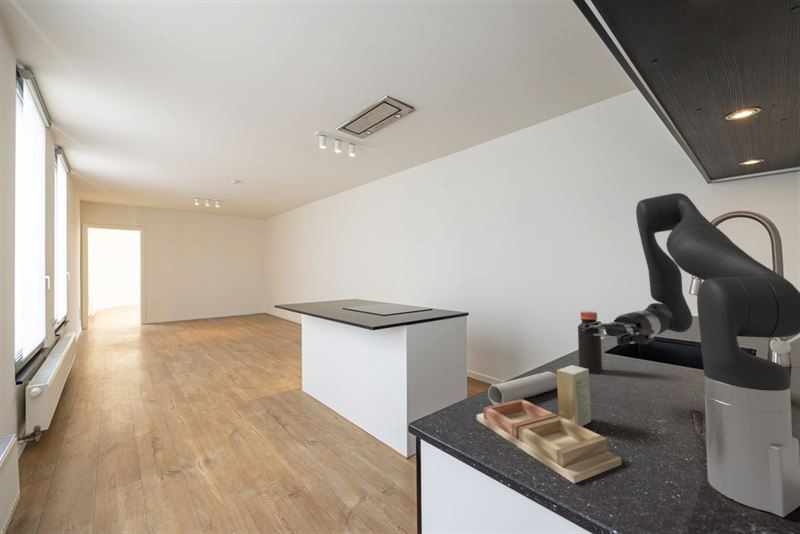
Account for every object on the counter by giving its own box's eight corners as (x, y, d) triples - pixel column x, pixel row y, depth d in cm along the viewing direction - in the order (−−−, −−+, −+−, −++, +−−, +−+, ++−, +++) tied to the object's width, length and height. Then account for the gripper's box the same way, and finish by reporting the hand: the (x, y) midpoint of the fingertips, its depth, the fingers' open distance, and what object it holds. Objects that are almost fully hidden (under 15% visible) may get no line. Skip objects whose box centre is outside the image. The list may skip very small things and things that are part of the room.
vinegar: (583, 366, 117) (581, 310, 118) (605, 370, 112) (603, 312, 113) (576, 371, 113) (574, 312, 113) (598, 375, 108) (595, 314, 108)
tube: (545, 381, 101) (485, 397, 88) (550, 366, 100) (490, 380, 87) (560, 392, 97) (500, 411, 84) (566, 376, 95) (505, 393, 82)
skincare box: (573, 415, 79) (571, 364, 79) (591, 422, 75) (590, 368, 75) (557, 422, 76) (555, 368, 76) (575, 430, 72) (574, 373, 72)
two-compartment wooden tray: (621, 464, 59) (620, 443, 59) (574, 483, 54) (573, 460, 54) (516, 410, 83) (515, 395, 83) (476, 419, 78) (476, 404, 78)
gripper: (608, 309, 94) (572, 317, 86) (668, 316, 81) (631, 326, 74) (609, 335, 94) (573, 345, 86) (669, 346, 81) (632, 359, 74)
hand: (600, 337), depth 80 cm, fingers open, 8 cm apart
